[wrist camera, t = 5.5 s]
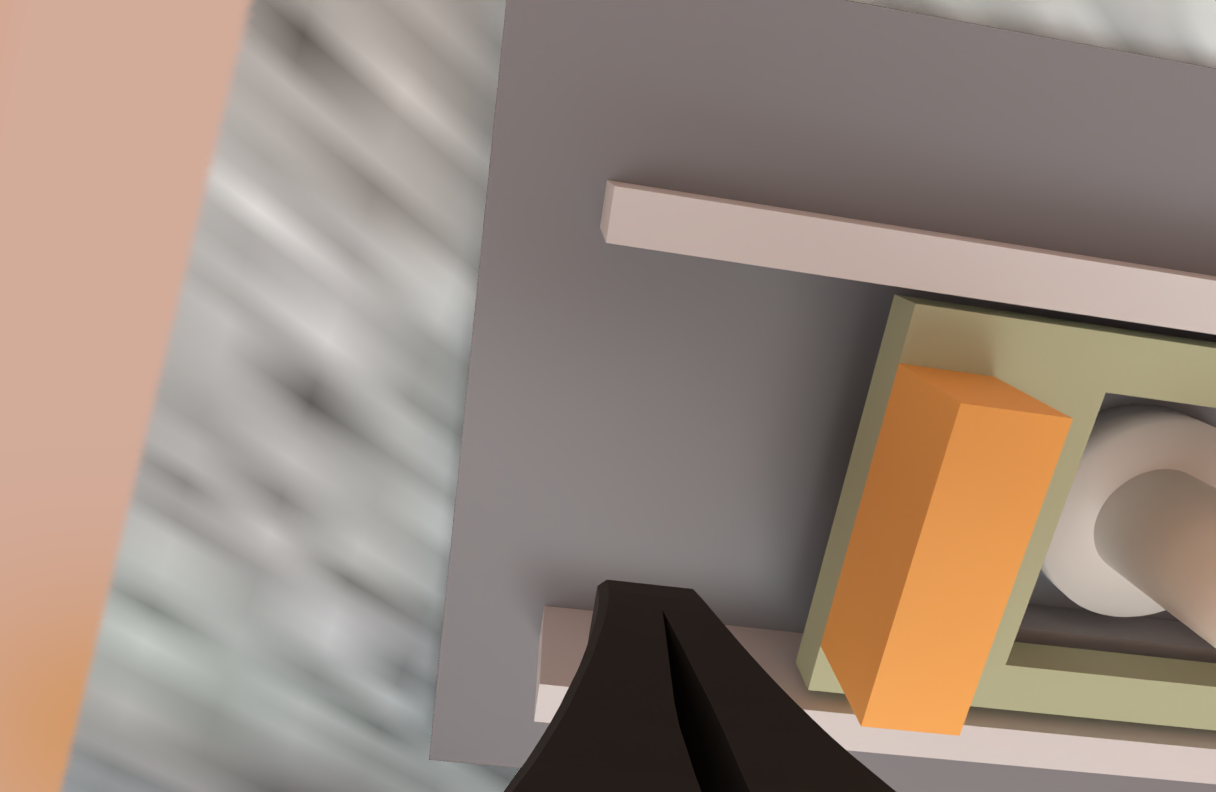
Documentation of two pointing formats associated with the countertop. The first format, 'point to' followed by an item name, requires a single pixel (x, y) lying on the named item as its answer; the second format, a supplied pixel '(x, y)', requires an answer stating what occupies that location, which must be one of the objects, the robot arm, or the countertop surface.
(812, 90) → the socket board
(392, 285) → the countertop surface
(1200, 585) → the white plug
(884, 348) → the plate
